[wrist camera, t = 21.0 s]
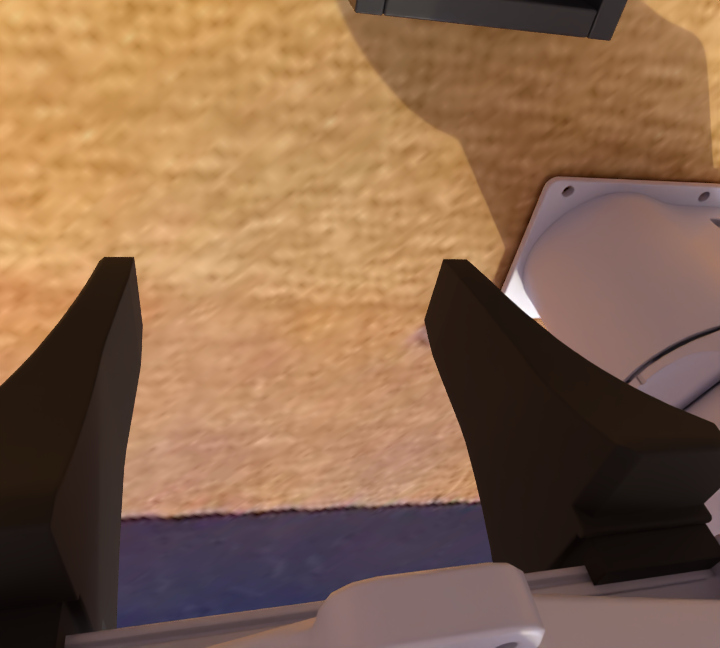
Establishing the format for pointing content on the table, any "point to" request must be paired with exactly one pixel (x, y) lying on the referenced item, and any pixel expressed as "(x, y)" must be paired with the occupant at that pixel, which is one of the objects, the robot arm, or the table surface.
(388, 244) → the table surface
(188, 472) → the table surface
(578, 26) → the compartment tray
